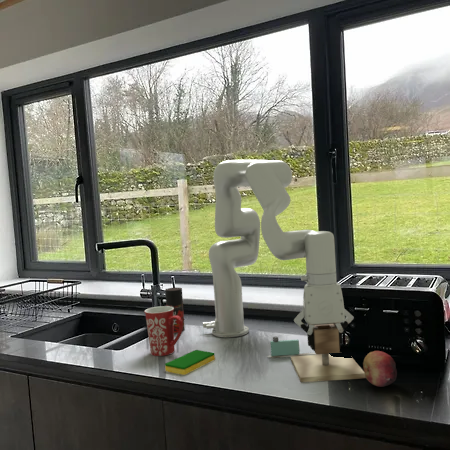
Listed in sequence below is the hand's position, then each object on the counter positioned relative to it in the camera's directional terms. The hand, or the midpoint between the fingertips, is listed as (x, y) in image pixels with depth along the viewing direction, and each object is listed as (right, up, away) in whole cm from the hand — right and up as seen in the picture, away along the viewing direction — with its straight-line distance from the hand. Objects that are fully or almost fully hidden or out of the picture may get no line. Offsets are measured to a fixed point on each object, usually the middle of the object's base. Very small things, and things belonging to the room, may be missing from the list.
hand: (325, 346), depth 127 cm
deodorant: (-44, -6, +47) cm, 64 cm away
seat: (-3, -6, +3) cm, 7 cm away
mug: (-44, -8, +22) cm, 50 cm away
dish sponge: (-36, -8, +10) cm, 38 cm away
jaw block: (0, -1, 0) cm, 1 cm away
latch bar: (-9, -6, +12) cm, 16 cm away
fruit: (+10, -6, -12) cm, 17 cm away
